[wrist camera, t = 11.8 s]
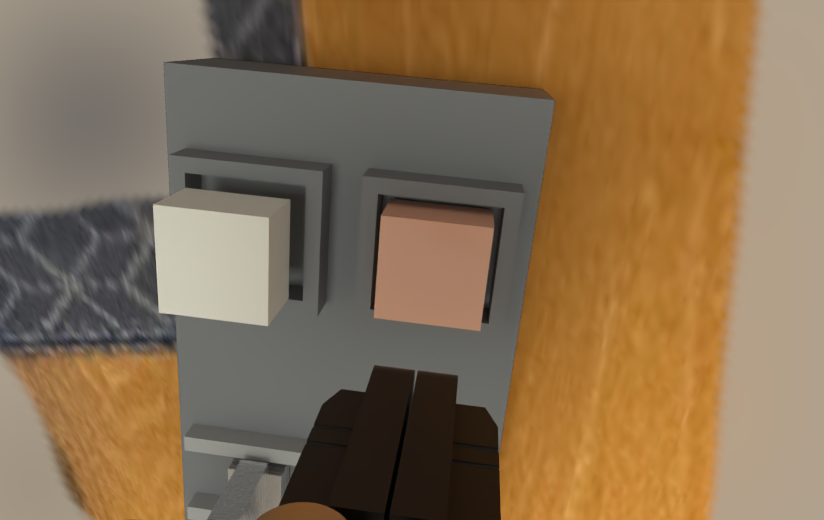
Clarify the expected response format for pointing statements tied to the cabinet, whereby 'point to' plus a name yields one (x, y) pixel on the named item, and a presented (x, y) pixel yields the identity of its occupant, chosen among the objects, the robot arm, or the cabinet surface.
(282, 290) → the cream button
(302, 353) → the control panel
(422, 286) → the terracotta button
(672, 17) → the cabinet surface
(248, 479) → the slide paddle
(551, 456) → the cabinet surface
